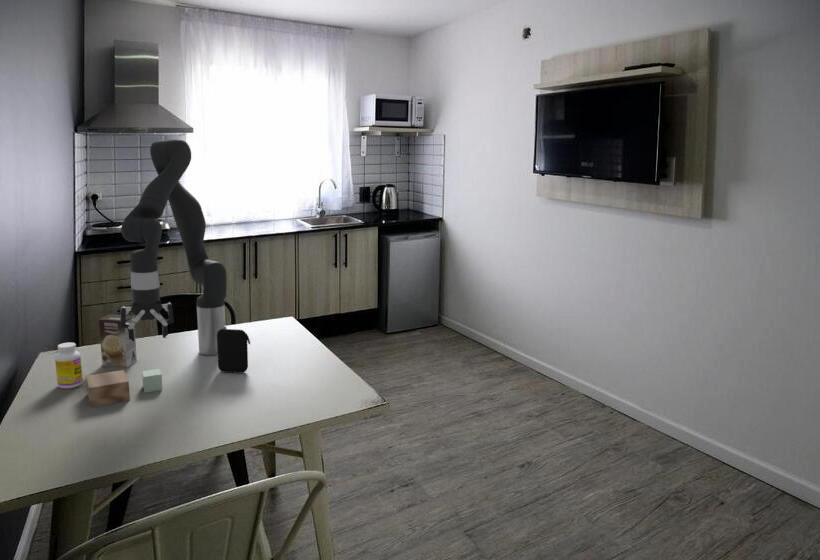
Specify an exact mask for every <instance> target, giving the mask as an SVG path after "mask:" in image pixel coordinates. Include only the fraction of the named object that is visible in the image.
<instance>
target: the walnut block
mask: <svg viewBox="0 0 820 560" xmlns="http://www.w3.org/2000/svg"><path fill="white" fill-rule="evenodd" d="M85 382H86V392H87V398H88V401H89V405H90V408H95V407H100V406H106V405H110V404H115V403H116V404H117V403H122V402H125V401H131V393H130V384H129V379H128V376H127V375H126V371H124V369H120V370H114V371H113V370H112V371H108V372H102V373H101V372H100V373H95V374H89V375H86V376H85Z"/></svg>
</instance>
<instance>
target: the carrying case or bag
mask: <svg viewBox="0 0 820 560" xmlns="http://www.w3.org/2000/svg"><path fill="white" fill-rule="evenodd" d="M248 345H251V341H250V337H249V335H248V333H246V331H244V330H243V329H238V328H237V329H236V328H235V329H234V328H231V329H230V328H227V329H220V330H219V331H218V332H217V351H218V355H217V366H218V370H219V371H220V372H222V373H234V372H243V373H245V372H246V371H247V370H248V368H249V360H248V359H249V357H248V356H249V355H248V354H249V353H248V349H249V348H248Z"/></svg>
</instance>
